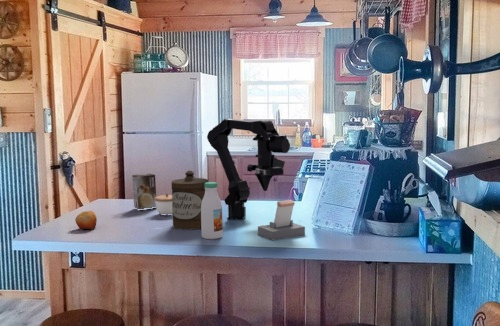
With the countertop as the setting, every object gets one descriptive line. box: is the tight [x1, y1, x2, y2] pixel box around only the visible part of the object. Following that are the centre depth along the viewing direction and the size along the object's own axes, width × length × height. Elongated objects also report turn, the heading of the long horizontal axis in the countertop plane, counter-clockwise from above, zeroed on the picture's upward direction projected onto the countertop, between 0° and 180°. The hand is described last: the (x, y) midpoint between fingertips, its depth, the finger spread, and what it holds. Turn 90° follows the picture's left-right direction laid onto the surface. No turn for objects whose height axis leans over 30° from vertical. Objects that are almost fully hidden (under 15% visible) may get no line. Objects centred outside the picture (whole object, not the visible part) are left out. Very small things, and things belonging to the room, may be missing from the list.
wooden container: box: [171, 170, 209, 230], centre depth 213 cm, size 15×15×22 cm
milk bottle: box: [200, 181, 224, 240], centre depth 195 cm, size 8×8×20 cm
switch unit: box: [257, 219, 306, 241], centre depth 197 cm, size 10×14×5 cm
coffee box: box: [132, 173, 157, 209], centre depth 248 cm, size 9×6×16 cm
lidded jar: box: [155, 192, 172, 215], centre depth 236 cm, size 11×11×9 cm
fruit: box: [75, 210, 98, 230], centre depth 212 cm, size 8×8×8 cm
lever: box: [273, 199, 295, 228], centre depth 195 cm, size 2×6×10 cm, turn 120°
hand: (265, 190), depth 216 cm, fingers closed
